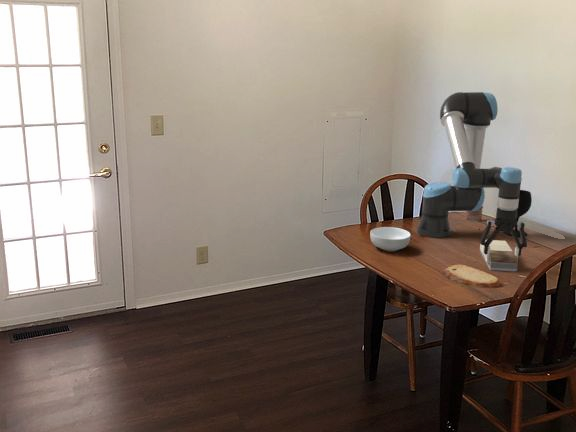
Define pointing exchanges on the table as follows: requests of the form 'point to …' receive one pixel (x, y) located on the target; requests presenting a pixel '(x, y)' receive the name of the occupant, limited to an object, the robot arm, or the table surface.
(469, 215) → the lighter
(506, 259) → the tan brown block
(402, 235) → the cereal bowl
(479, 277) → the bread slice
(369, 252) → the table surface
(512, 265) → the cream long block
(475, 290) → the table surface
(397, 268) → the table surface
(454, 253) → the table surface
